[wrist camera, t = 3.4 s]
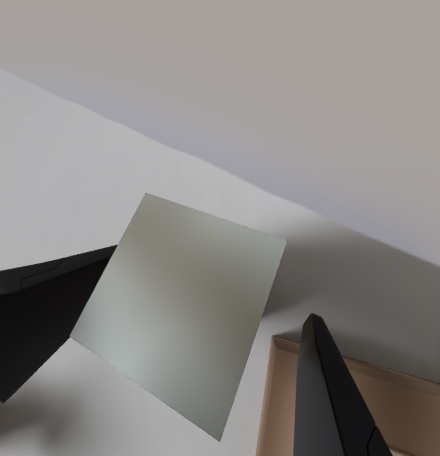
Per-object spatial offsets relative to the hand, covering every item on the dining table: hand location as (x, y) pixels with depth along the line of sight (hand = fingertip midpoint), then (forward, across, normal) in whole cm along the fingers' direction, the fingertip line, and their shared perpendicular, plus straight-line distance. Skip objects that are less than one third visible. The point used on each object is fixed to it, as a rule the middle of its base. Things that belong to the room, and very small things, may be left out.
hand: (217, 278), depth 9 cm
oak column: (+5, 0, +6) cm, 8 cm away
